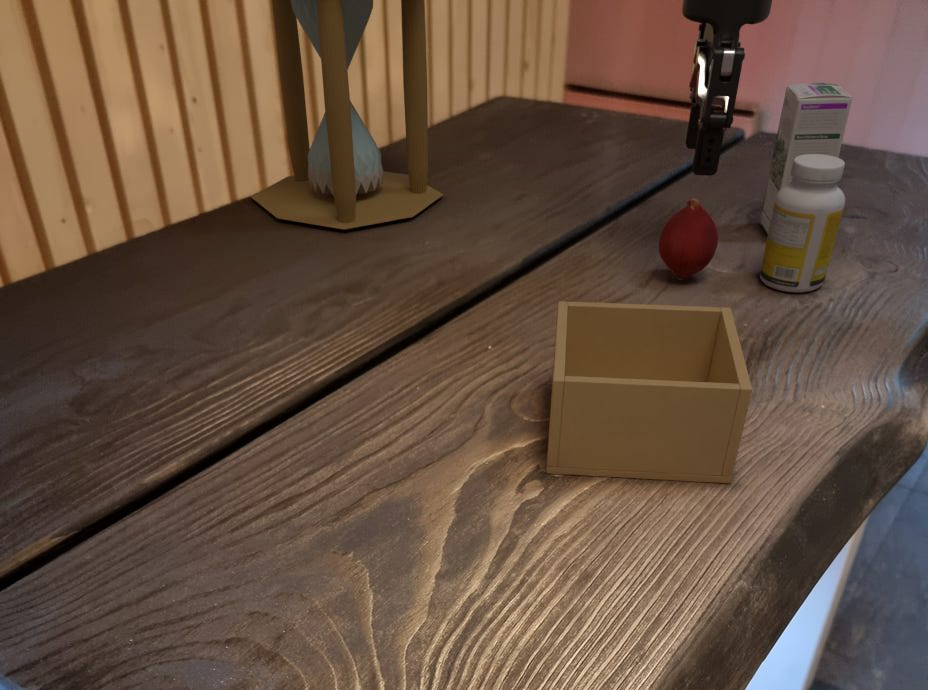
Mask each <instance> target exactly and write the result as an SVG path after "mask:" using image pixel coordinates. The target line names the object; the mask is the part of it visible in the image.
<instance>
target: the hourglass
mask: <svg viewBox="0 0 928 690" xmlns="http://www.w3.org/2000/svg"><path fill="white" fill-rule="evenodd" d="M425 1H426V0H400V6H401V7H400V8H401V12H400V13H401V43H402V44H401V45H402V49H401V50H402V82H403V103H404V104H403V106H404V124H405V125H404V126H405V144H406V146H405V147H406V166H407V167H406V168H407V174H405V173H399V172H392V171H391V172H390V171H384V168H383V164H382V154H381V151H380V149H379V147H378V144H377V143H376V141H375V139H374V138H373V136H372V134H371V132H370V131H369V130H368V128H367V126H366V124H365V123H364V121H363V119H362V117H361V116H360V114H359V112H358V111H357V109H356V108H355V105H354V104H353V103H352V101H351V95H350V83H349V73H348V70H349V68H350V65H351V64H352V62H353V58H354V56H355V53H356V51H357V48H358V46H359V45H360V42H361V40H362V37H363V34H364V32H365V30H366V27H367V25H368V23H369V21H370V18H371V15H372V12H373V9H374V0H271V4H272V14H273V22H274V23H273V24H274V33H275V42H276V43H275V44H276V53H277V61H278V72H279V80H280V81H279V82H280V87H281V88H280V89H281V95H282V103H283V111H284V119H285V126H286V134H287V142H288V150H289V157H290V162H291V168H292V171H293V175H288V176H286V177H284V178H282V179H280V180H279V181H276V182H275V183H272V184H271V185H269V186H267V187H265V188H264V189H261V190H259V191H258V192H256V193H255V194H253V195H251V196H250V198H251V199H253V200H254V201H255V202H256V203H257V204H259V205H260V206H261V207H263V208H264V209H265V210H266V211H268V212H269V213H270V214H271V215H273V216H274V217H275V218H276V219H279V220H285V221H289V222H290V221H291V222H298V223H303V224H308V225H314V226H321V227H326V228H333V229H338V230H349V229H355V228H359V227H365V226H371V225H376V224H381V223H382V224H383V223H388V222H393V221H398V220H402V219H404V220H405V219H408V218H413V217H416V215H418V214H419V213H421V212H422V211H423V210H425V209H426V208H427V207H429V206H430V205H432V204H433V203H434V202H436V201H437V200H439V199H440V198H441V197H442V196H444V195H445V194H444V193H442V192H440V191H439V190H437V189H436V188H434V187H432V186H430V185H428V178H429V177H428V175H429V135H428V134H429V124H428V123H429V122H428V121H429V120H428V118H429V117H428V115H429V114H428V111H429V110H428V109H429V108H428V106H429V105H428V70H427V69H428V67H427V66H428V64H427V63H428V61H427V34H426V33H427V32H426V4H425V3H426V2H425ZM298 23H299V25H300V26H301V28H302V30H303V31H304V33H305V35H306V36H307V38H308V40H309V42H310V44H311V45H312V47H313V48H314V50H315V52H316V53H317V55H318V57H319V58H320V62H321V63H320V64H321V74H322V75H321V76H322V87H323V88H322V90H323V100H324V103H323V104H324V114H323V116H322V118H321V121H320V123H319V125H318V128H317V131H316V133H315V135H314V137H313V139H312V142H311V145H310V138H309V127H308V114H307V103H306V92H305V82H304V80H305V79H304V72H303V71H304V69H303V62H302V54H301V53H302V52H301V45H300V36H299V29H298V27H299V26H298Z"/></svg>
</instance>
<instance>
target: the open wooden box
mask: <svg viewBox="0 0 928 690" xmlns="http://www.w3.org/2000/svg"><path fill="white" fill-rule="evenodd" d="M556 311H557V312H556V327H555V337H554V338H555V340H554V352H553V353H554V354H553V367H552V380H551V381H552V382H551V395H550V409H549V410H550V411H549V425H548V437H547V438H548V439H547V452H546V455H547V456H546V466H545V467H546V469H545V474H548V475H549V474H550V475H568V476H588V477H605V478H624V479H640V480H641V479H642V480H659V481H660V480H661V481H676V482H677V481H678V482H680V481H681V482H696V483H697V482H698V483H712V484H713V483H717V484H731V482H732V480H733V479H732V478H733V475H734V470H735V466H736V461H737V457H738V452H739V450H740V449H739V448H740V443H741V440H742V435H743V432H744V427H745V423H746V418H747V416H748V415H747V414H748V411H749V406H750V403H751V399H752V398H751V397H752V394H753V387H752V383H751V379H750V375H749V371H748V368H747V364H746V360H745V356H744V352H743V349H742V345H741V342H740V338H739V334H738V329H737V326H736V322H735V319H734V314H733V311H732V307H725V306H723V307H722V306H721V307H720V306H719V307H718V306H698V305H697V306H695V305H693V306H692V305H669V304H645V303H644V304H642V303H640V304H639V303H616V302H615V303H614V302H587V301H558V302H557V310H556Z"/></svg>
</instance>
